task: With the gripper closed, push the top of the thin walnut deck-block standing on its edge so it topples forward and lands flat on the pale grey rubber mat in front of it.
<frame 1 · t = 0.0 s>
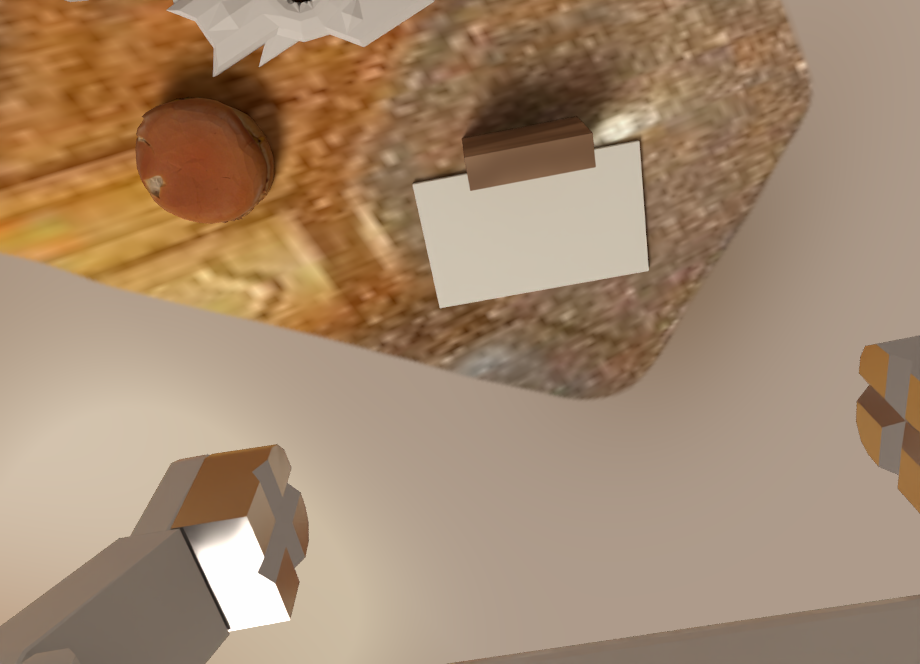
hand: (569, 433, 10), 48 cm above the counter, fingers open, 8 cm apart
mat: (533, 227, 59), on the counter
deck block: (521, 142, 56), on the counter
burger: (212, 156, 56), on the counter
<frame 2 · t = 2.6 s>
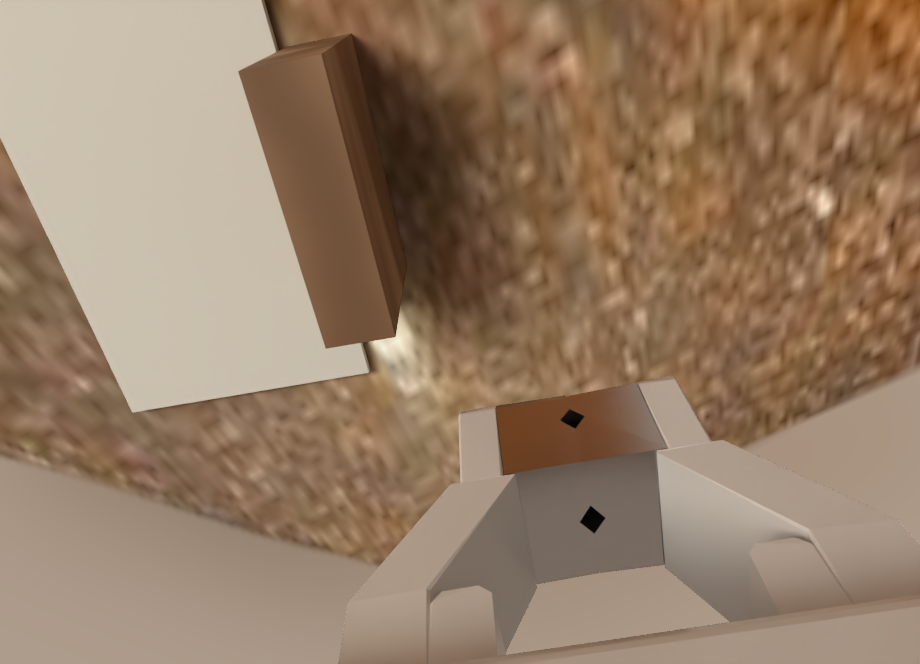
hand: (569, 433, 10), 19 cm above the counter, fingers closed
mat: (178, 196, 28), on the counter
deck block: (351, 162, 28), on the counter
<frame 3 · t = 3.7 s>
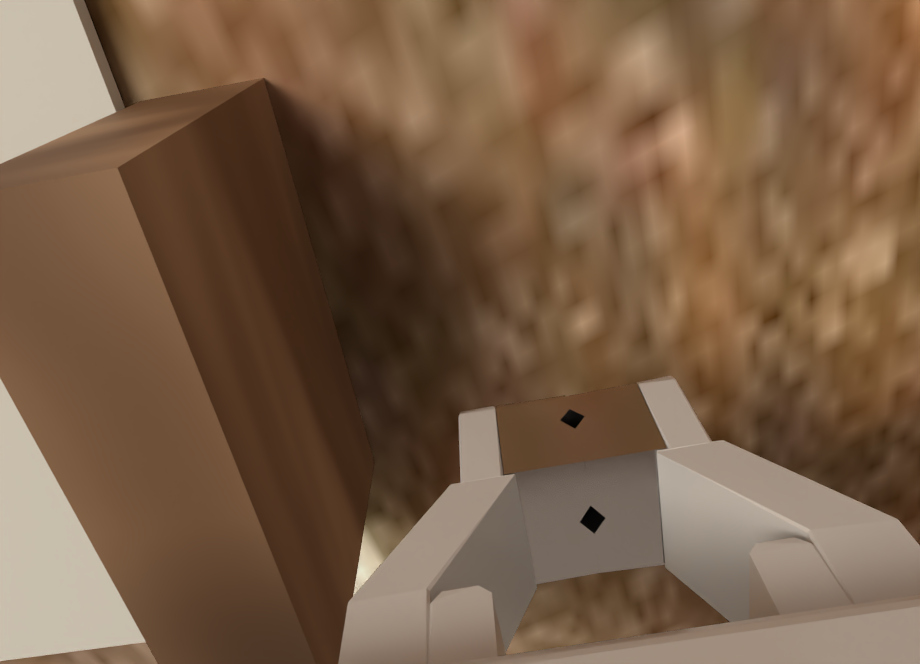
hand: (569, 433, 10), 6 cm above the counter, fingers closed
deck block: (272, 303, 15), on the counter
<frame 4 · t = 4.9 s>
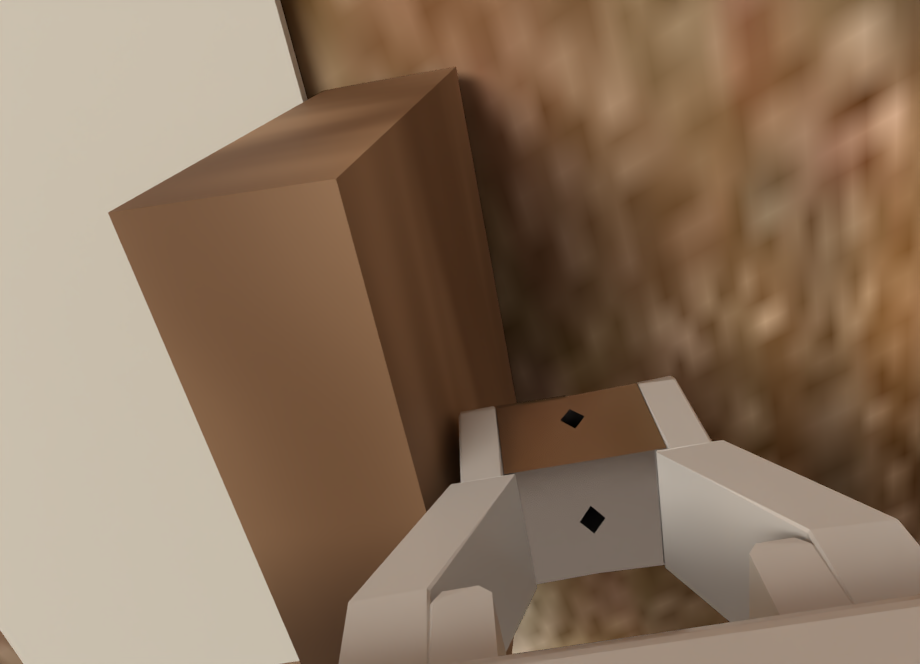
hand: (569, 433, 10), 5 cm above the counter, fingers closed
mat: (112, 366, 15), on the counter
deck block: (440, 310, 14), on the counter, tilted 10°, touching gripper
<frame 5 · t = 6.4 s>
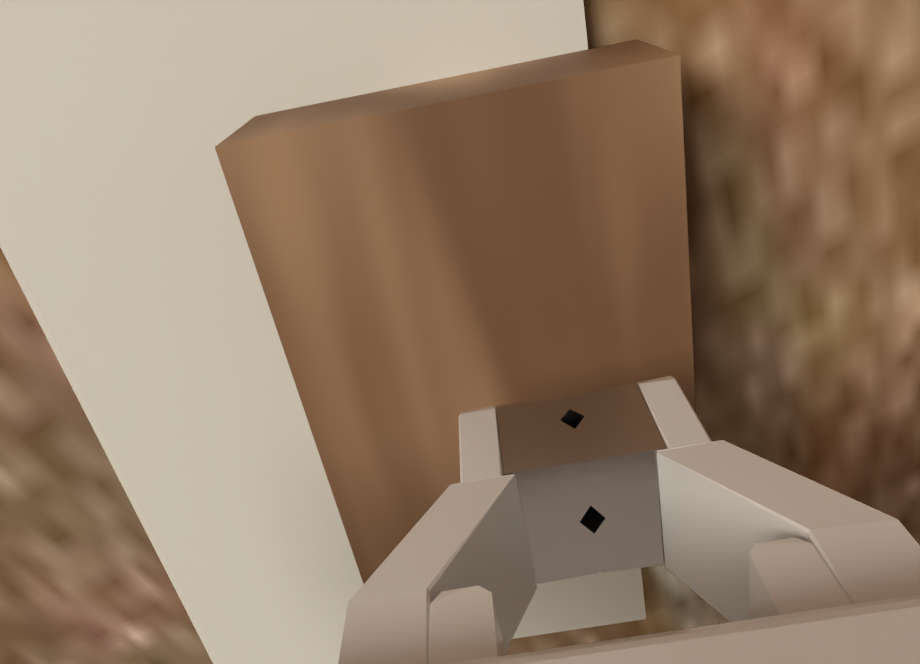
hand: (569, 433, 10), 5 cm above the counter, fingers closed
mat: (339, 334, 15), on the counter
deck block: (671, 314, 13), point 2 cm above the counter, tilted 90°, touching mat
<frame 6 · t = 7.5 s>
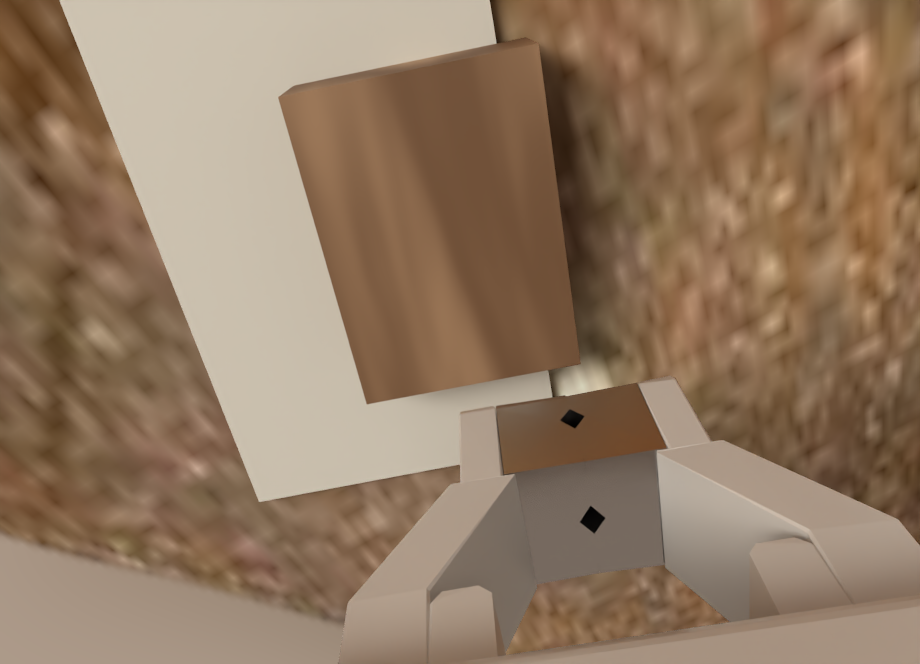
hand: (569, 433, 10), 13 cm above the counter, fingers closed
mat: (344, 233, 22), on the counter
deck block: (554, 207, 20), point 2 cm above the counter, tilted 90°, touching mat
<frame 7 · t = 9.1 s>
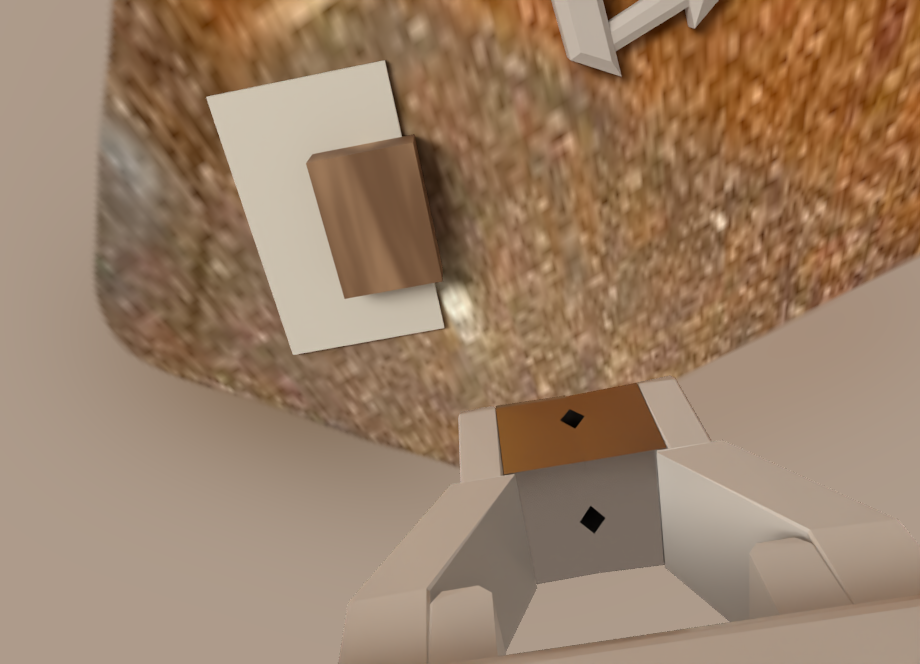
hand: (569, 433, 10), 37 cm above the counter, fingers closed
mat: (335, 219, 47), on the counter
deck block: (428, 209, 45), point 2 cm above the counter, tilted 90°, touching mat
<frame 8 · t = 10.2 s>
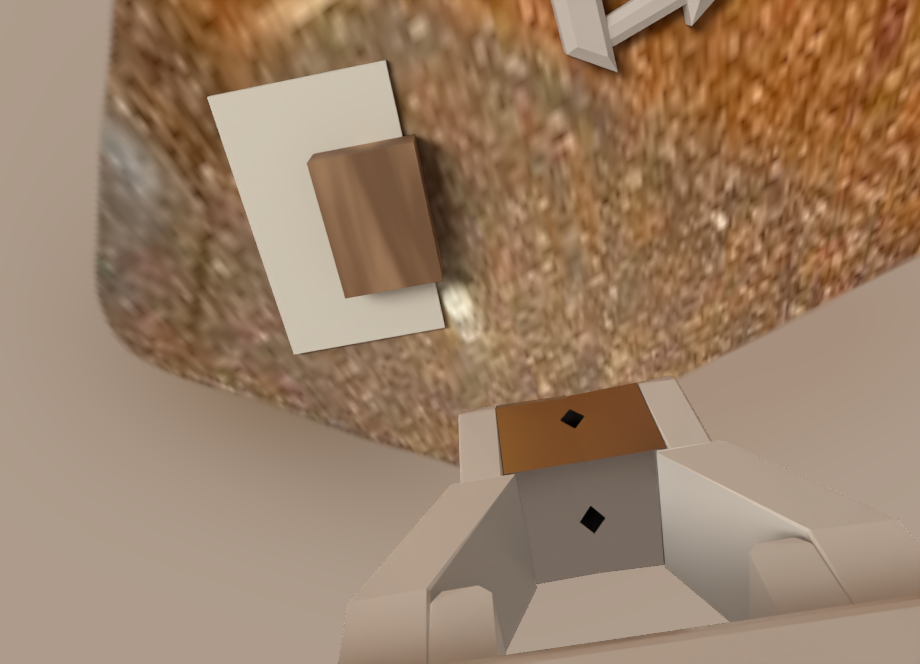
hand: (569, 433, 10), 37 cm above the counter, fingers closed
mat: (336, 219, 47), on the counter
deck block: (429, 209, 45), point 2 cm above the counter, tilted 90°, touching mat
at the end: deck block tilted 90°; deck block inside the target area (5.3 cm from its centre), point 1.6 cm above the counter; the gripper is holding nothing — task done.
